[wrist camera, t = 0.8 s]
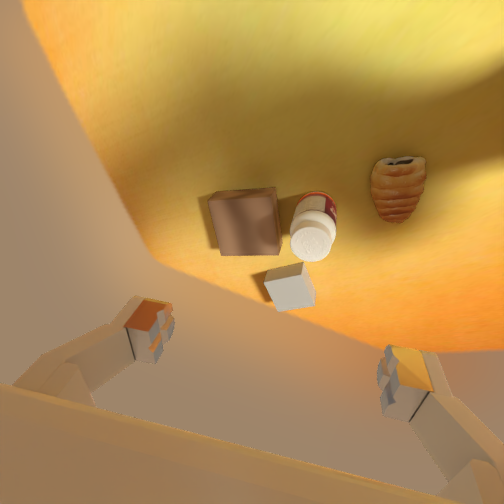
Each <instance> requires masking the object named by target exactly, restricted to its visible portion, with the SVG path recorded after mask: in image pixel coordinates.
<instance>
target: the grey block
mask: <svg viewBox="0 0 504 504" xmlns="http://www.w3.org/2000/svg"><path fill="white" fill-rule="evenodd" d="M263 283H264V285H265V287H266V289H267V291H268V293H269V295H270V297H271V299H272V301H273V303H274V305H275V307H276V309H277V311H278V312H280V311H286V310H292V309H299V308H305V307H311V306H315V298H316V291H315V288H314V286H313V284H312V281H311V279H310V276H309V274H308V271H307V269H306V267H305V264H304V262H301V263H297V264H293V265H288V266H284V267H279V268H275V269H271V270H268V271H267V274H266V277H265V280H264V282H263Z"/></svg>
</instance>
